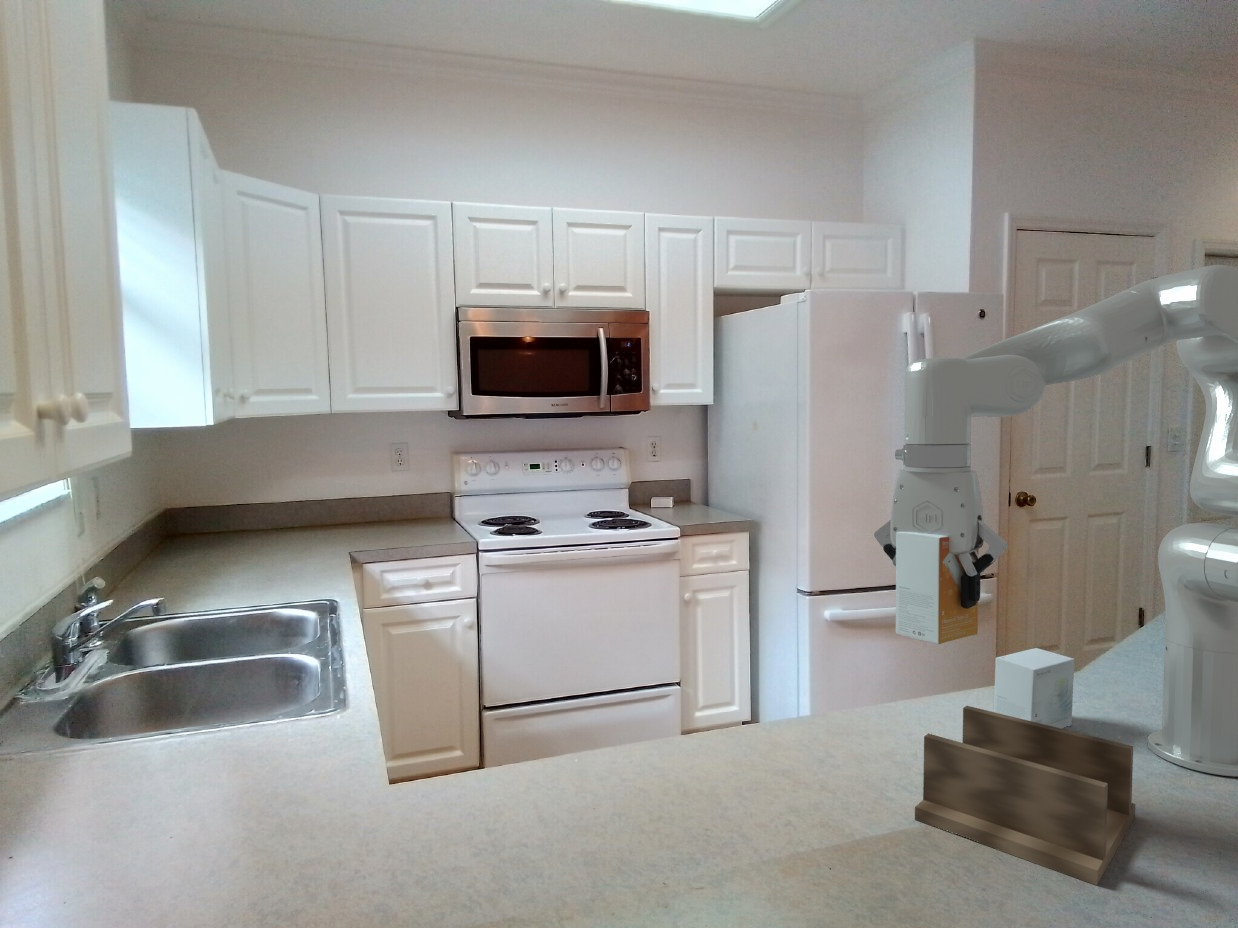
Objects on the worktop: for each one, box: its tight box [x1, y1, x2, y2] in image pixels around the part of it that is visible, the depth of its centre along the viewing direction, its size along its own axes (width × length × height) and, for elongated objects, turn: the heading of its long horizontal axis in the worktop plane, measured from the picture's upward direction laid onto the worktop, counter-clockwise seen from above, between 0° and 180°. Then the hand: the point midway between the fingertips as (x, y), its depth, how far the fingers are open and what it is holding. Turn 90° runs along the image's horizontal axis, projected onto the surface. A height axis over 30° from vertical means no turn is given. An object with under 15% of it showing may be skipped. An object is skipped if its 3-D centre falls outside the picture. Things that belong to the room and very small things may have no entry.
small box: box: [895, 532, 980, 645], centre depth 94 cm, size 8×6×13 cm
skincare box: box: [992, 647, 1075, 729], centre depth 113 cm, size 10×6×10 cm, turn 120°
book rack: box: [914, 705, 1137, 886], centre depth 86 cm, size 18×18×9 cm
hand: (937, 600), depth 94 cm, fingers closed on small box, 7 cm apart
